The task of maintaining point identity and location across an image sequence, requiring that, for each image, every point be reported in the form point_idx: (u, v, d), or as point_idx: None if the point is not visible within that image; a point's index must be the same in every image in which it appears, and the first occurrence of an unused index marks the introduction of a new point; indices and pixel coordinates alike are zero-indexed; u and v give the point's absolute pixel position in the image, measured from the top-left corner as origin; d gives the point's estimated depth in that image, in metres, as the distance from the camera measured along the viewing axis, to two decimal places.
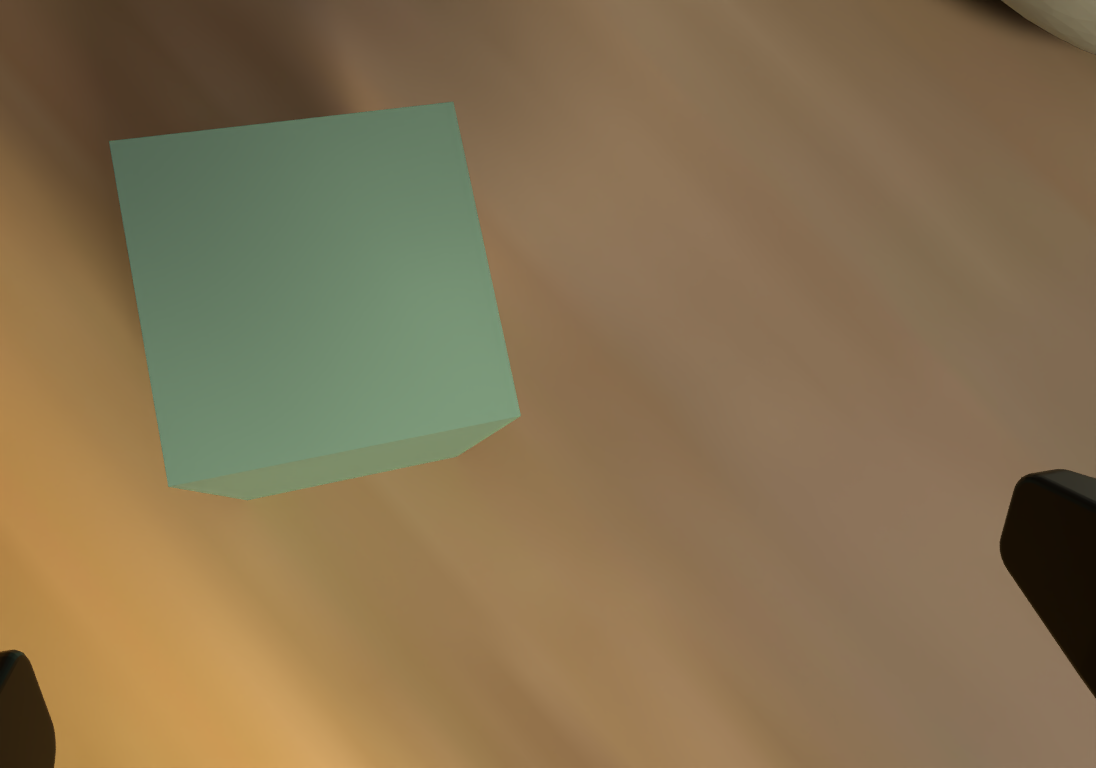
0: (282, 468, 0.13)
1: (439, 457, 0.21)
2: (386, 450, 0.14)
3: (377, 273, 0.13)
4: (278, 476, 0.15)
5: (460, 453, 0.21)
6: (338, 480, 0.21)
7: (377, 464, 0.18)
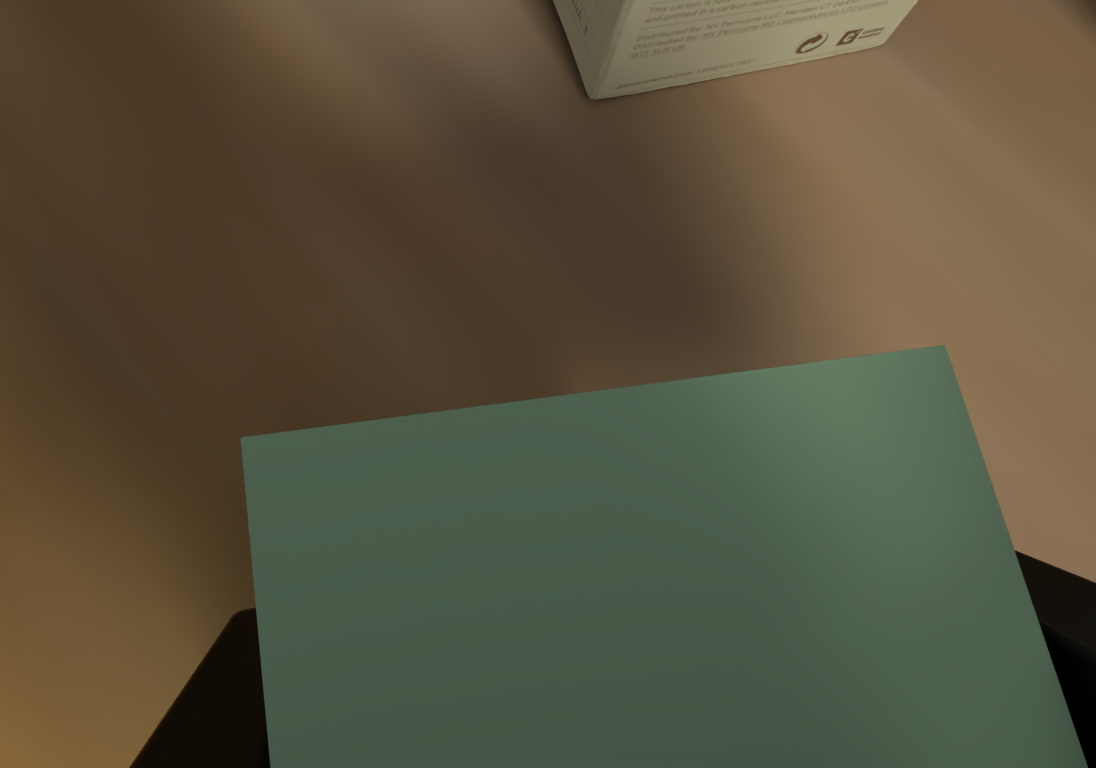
0: None
1: None
2: None
3: (840, 750, 0.06)
4: None
5: None
6: None
7: None
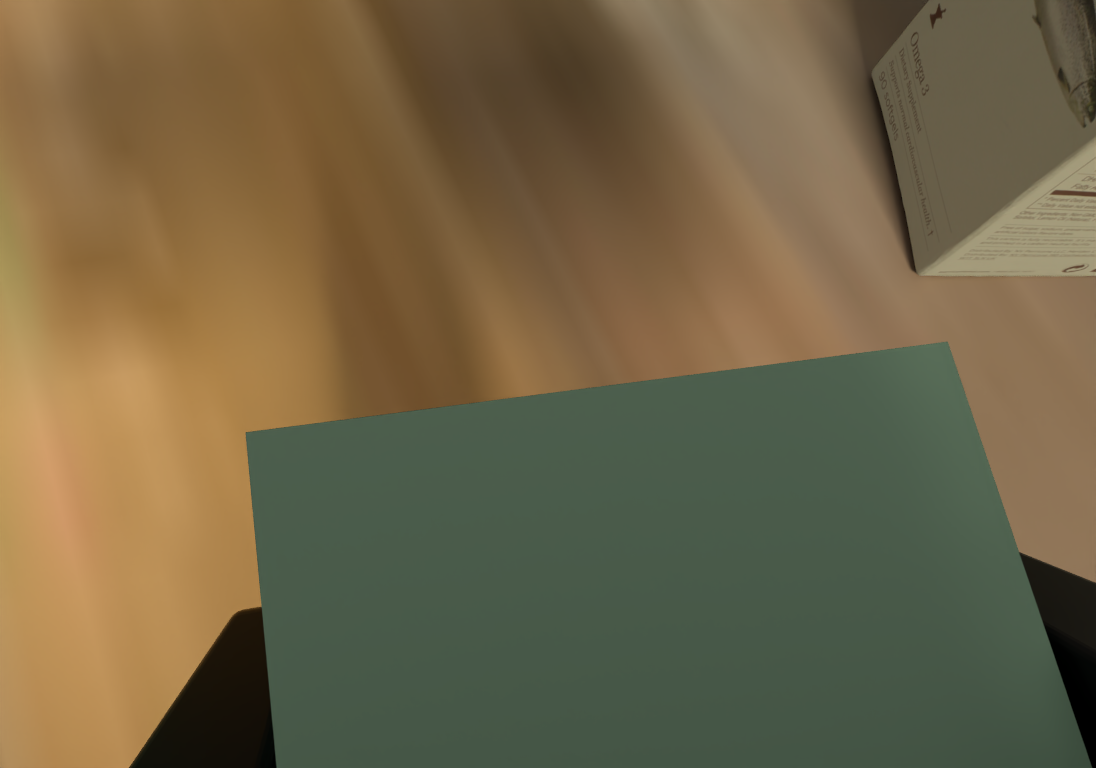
0: None
1: None
2: None
3: (844, 746, 0.06)
4: None
5: None
6: None
7: None
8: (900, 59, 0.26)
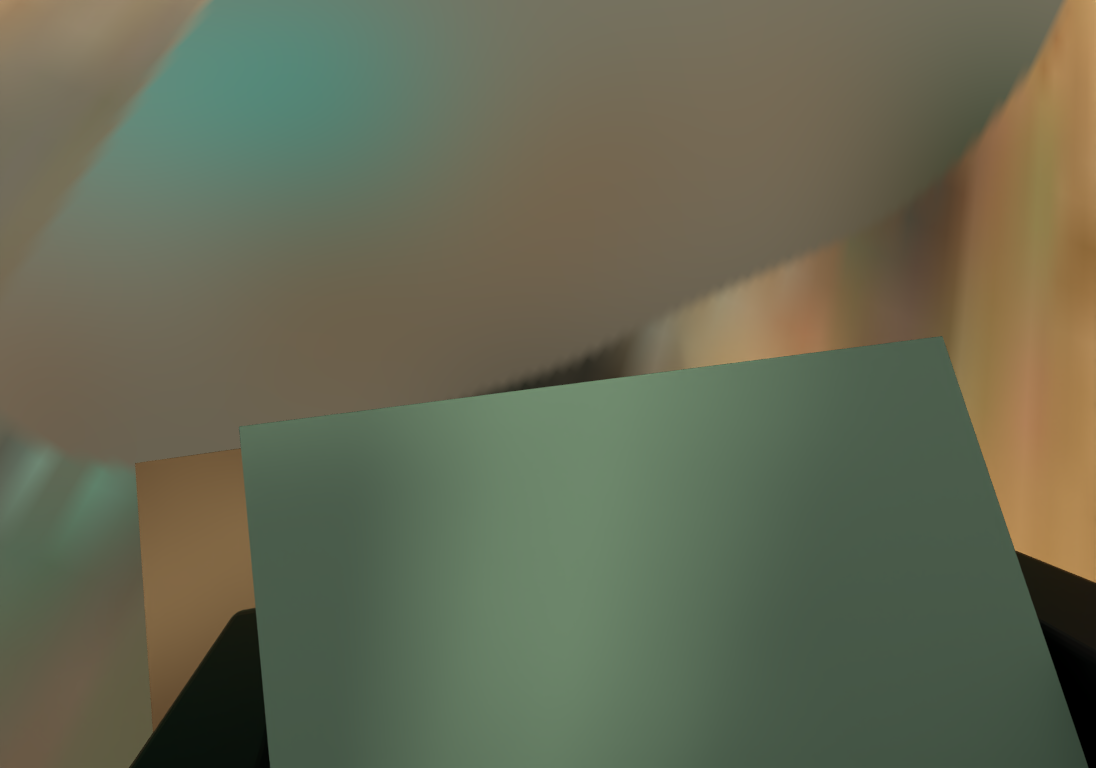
0: None
1: None
2: None
3: (838, 738, 0.06)
4: None
5: None
6: None
7: None
8: None
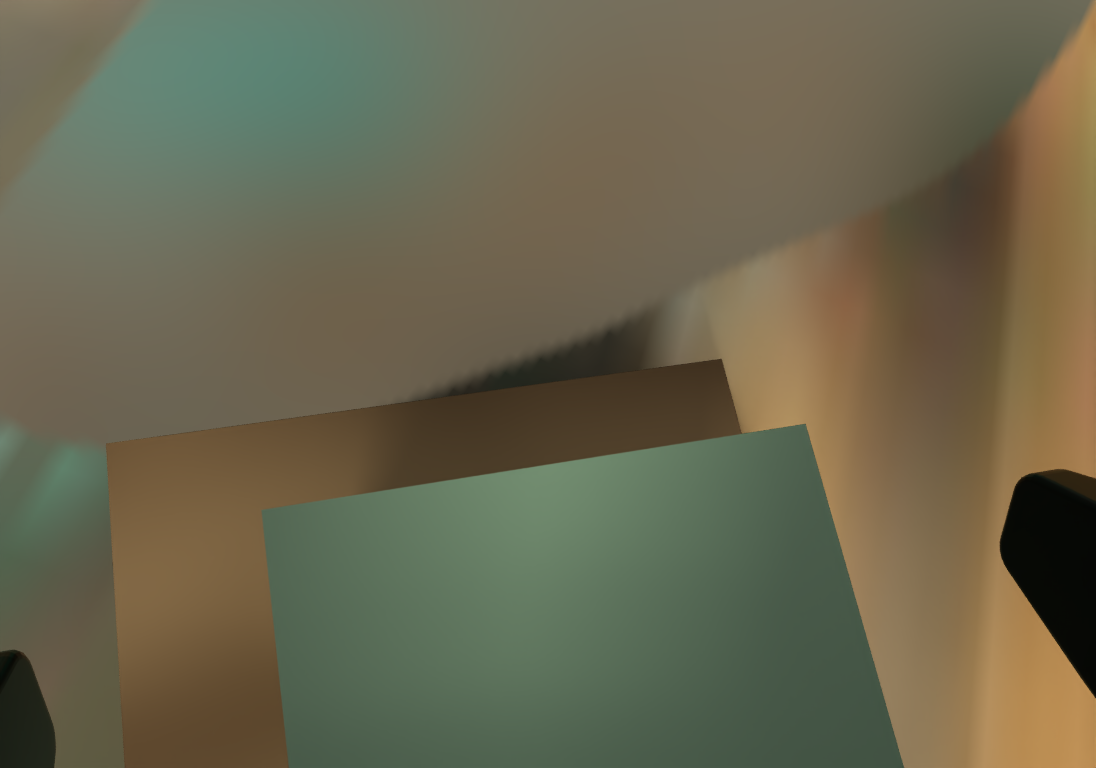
0: None
1: None
2: None
3: (708, 738, 0.07)
4: None
5: None
6: None
7: None
8: None
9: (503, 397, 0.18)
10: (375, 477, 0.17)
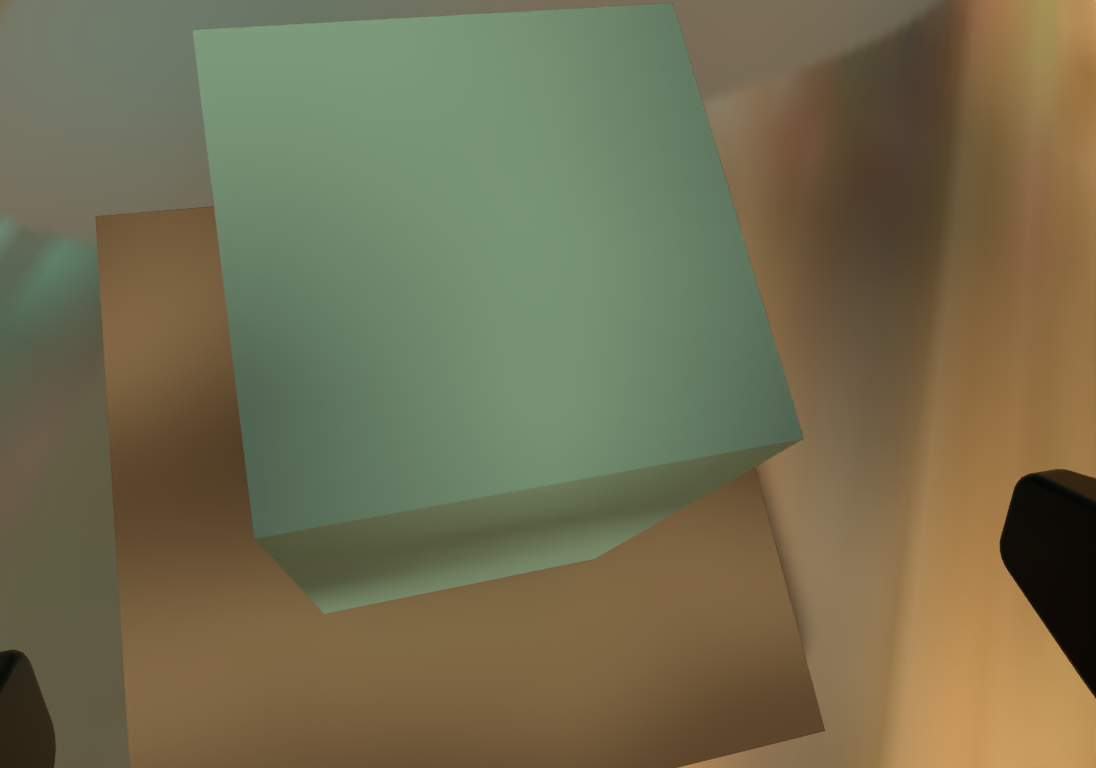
0: (425, 523, 0.08)
1: (581, 555, 0.15)
2: (571, 506, 0.09)
3: (578, 222, 0.09)
4: (401, 551, 0.10)
5: (607, 550, 0.16)
6: (444, 587, 0.16)
7: (517, 552, 0.13)
8: None
9: None
10: None
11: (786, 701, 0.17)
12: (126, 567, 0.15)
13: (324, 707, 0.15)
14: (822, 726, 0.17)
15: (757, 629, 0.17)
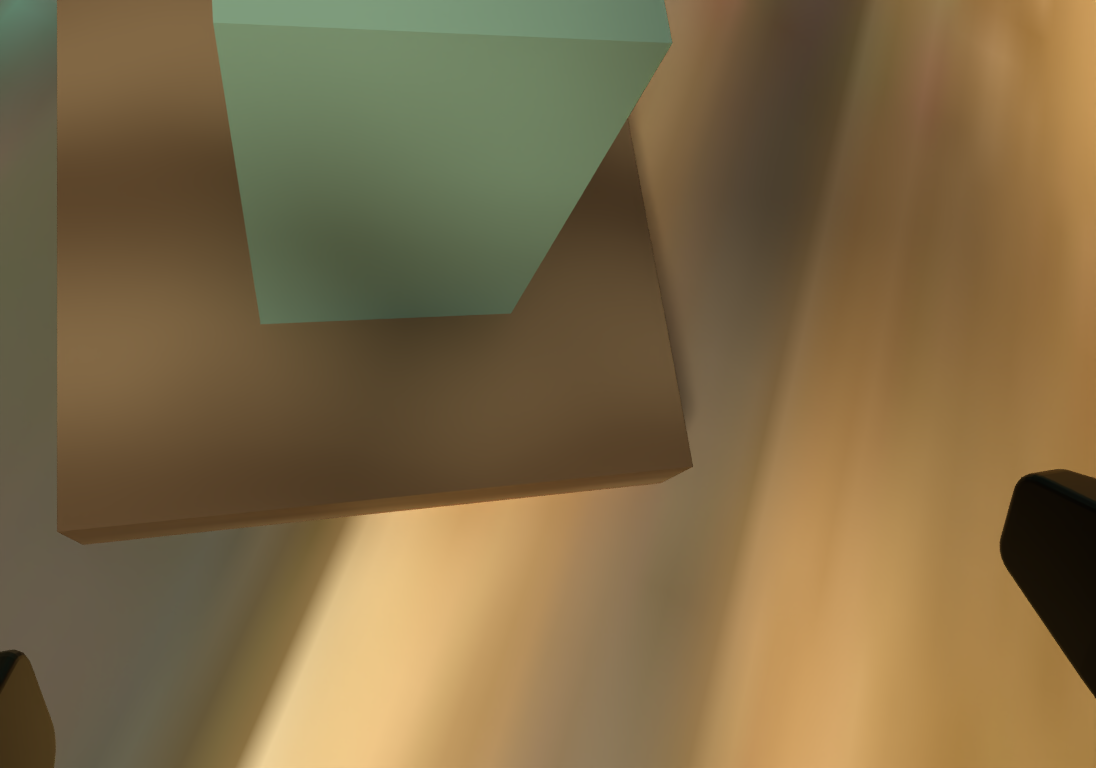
0: (355, 80, 0.10)
1: (497, 290, 0.17)
2: (481, 115, 0.11)
3: None
4: (334, 156, 0.12)
5: (521, 293, 0.18)
6: (372, 312, 0.18)
7: (438, 238, 0.15)
8: None
9: None
10: None
11: (660, 438, 0.19)
12: (65, 255, 0.17)
13: (240, 394, 0.17)
14: (691, 463, 0.19)
15: (641, 377, 0.19)
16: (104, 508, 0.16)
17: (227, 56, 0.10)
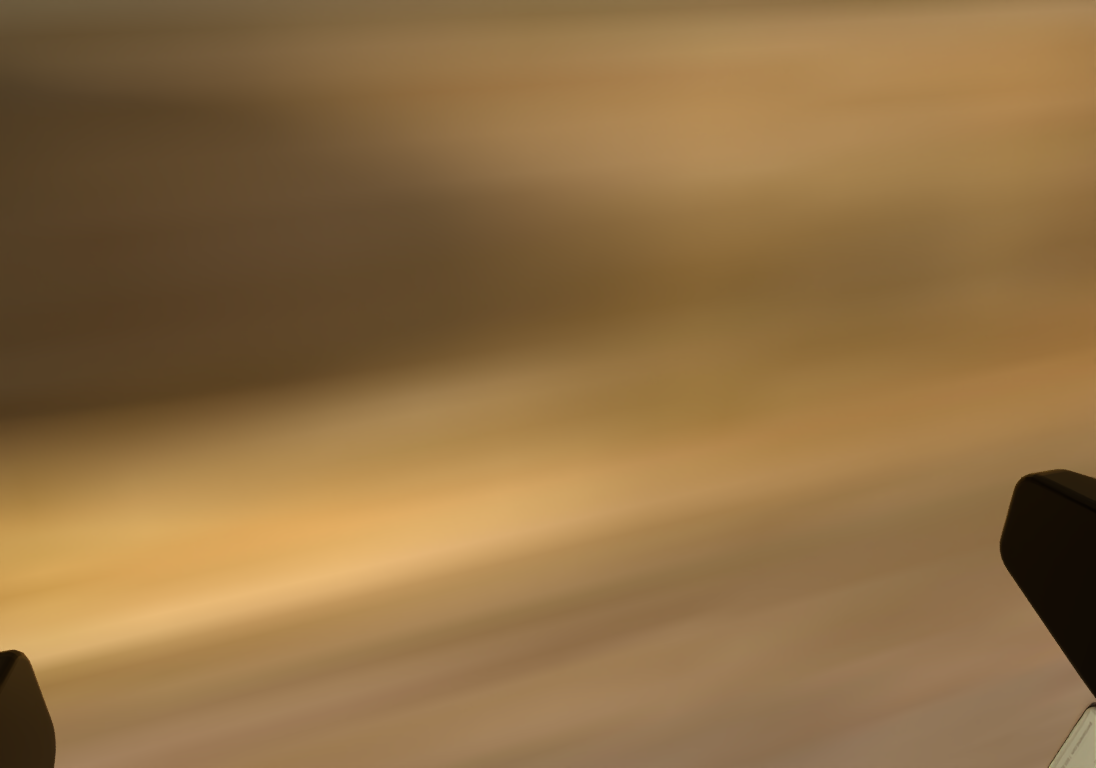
0: None
1: None
2: None
3: None
4: None
5: None
6: None
7: None
8: None
9: None
10: None
11: None
12: None
13: None
14: None
15: None
16: None
17: None
